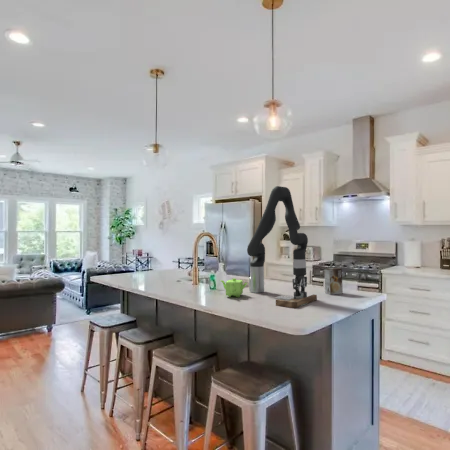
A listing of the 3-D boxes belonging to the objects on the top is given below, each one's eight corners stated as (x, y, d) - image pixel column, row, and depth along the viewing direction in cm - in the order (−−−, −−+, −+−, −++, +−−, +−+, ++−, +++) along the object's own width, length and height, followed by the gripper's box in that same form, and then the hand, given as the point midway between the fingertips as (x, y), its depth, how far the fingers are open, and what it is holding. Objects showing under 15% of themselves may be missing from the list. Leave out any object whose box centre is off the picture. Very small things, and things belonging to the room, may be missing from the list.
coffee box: (337, 292, 222) (336, 267, 222) (342, 293, 216) (342, 268, 216) (324, 293, 219) (324, 268, 220) (330, 294, 213) (329, 269, 214)
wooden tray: (275, 305, 186) (275, 299, 186) (298, 297, 206) (298, 292, 206) (295, 308, 178) (295, 302, 179) (316, 299, 198) (316, 294, 198)
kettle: (231, 299, 205) (231, 280, 206) (218, 296, 217) (218, 278, 217) (250, 296, 214) (250, 278, 214) (237, 293, 226) (236, 276, 226)
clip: (293, 298, 200) (293, 292, 200) (297, 297, 204) (297, 290, 204) (303, 300, 196) (303, 293, 196) (307, 298, 200) (306, 291, 200)
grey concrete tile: (274, 298, 206) (274, 297, 206) (281, 296, 212) (281, 295, 212) (289, 300, 200) (289, 299, 200) (296, 297, 206) (296, 297, 206)
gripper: (299, 265, 208) (300, 292, 208) (287, 267, 197) (288, 296, 197) (310, 266, 203) (311, 294, 203) (299, 268, 192) (300, 298, 192)
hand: (300, 295), depth 200 cm, fingers open, 6 cm apart
